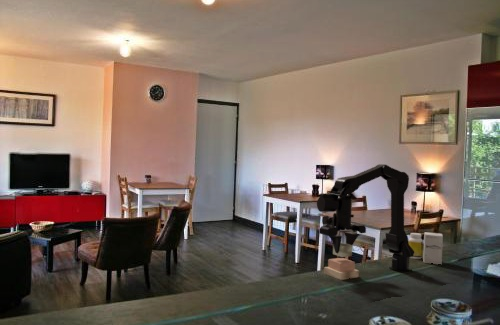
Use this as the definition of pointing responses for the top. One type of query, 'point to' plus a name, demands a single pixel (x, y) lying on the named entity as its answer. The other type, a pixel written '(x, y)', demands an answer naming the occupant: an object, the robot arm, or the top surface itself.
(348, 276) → the birch block
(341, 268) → the terracotta block
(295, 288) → the top surface
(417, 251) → the pill bottle
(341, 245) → the sage block
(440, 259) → the supplement box
